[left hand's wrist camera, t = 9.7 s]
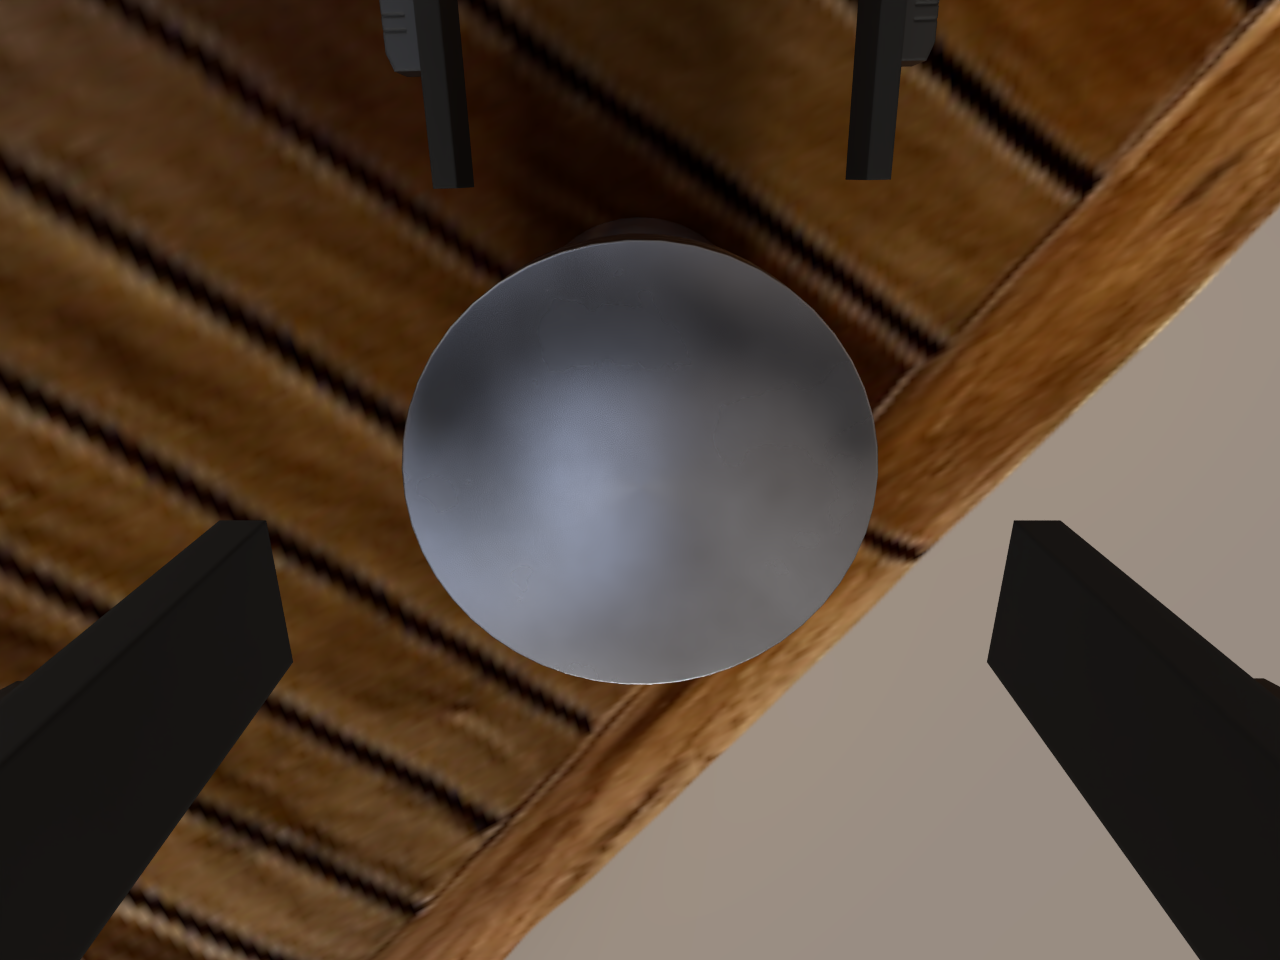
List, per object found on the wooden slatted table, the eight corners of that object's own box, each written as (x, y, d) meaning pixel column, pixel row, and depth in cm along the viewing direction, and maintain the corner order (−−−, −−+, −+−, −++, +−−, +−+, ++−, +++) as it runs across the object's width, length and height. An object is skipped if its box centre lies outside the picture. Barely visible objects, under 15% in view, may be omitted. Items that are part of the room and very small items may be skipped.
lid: (390, 245, 18) (362, 252, 16) (868, 220, 17) (894, 225, 16) (454, 650, 21) (437, 694, 20) (846, 634, 21) (865, 676, 19)
